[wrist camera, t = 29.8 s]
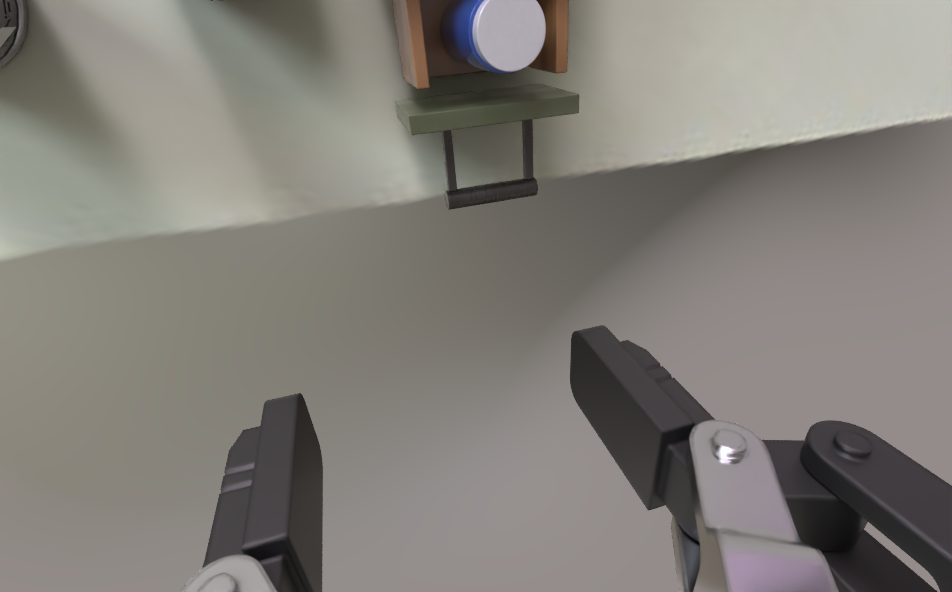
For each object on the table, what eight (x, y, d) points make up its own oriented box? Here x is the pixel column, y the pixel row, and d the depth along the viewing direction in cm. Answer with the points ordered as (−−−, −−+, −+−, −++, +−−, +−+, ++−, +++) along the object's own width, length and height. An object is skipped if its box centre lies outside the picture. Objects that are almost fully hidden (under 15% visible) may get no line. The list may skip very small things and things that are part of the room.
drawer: (541, 175, 42) (576, 200, 36) (409, 196, 40) (423, 226, 34) (540, -101, 32) (587, -129, 26) (365, -94, 30) (375, -122, 24)
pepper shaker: (433, 54, 34) (464, 63, 26) (448, -17, 32) (485, -29, 25) (490, 72, 36) (535, 84, 28) (507, 5, 34) (560, -1, 26)
